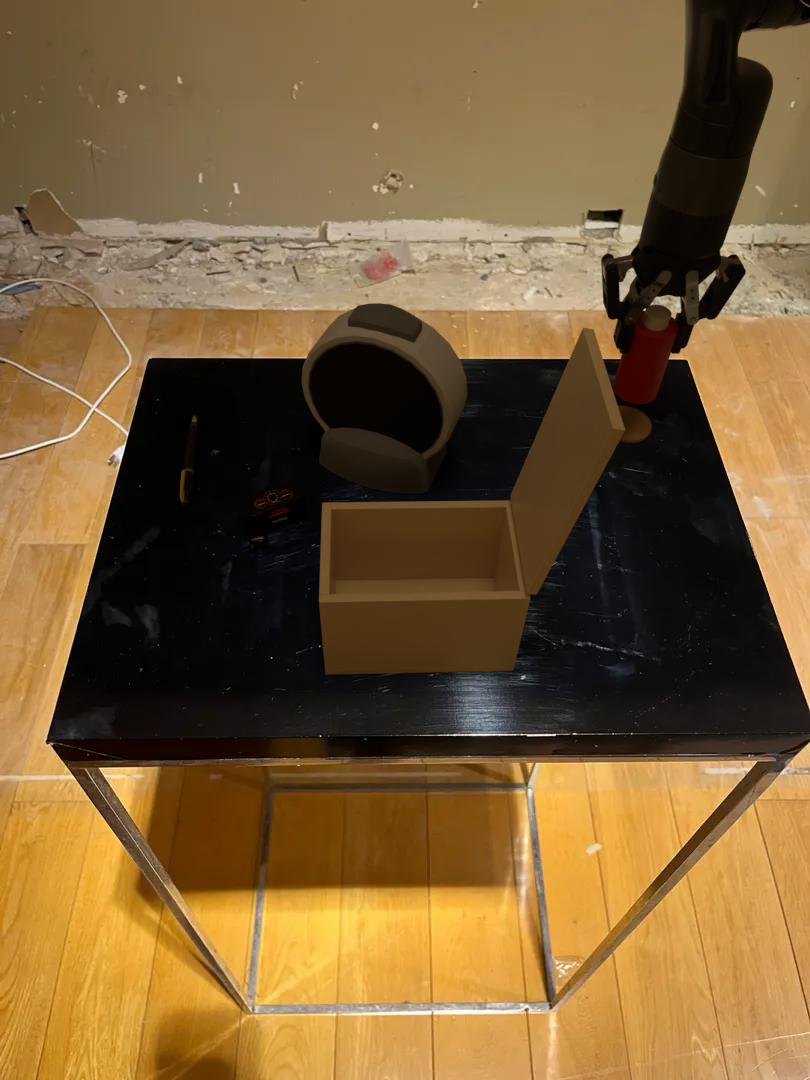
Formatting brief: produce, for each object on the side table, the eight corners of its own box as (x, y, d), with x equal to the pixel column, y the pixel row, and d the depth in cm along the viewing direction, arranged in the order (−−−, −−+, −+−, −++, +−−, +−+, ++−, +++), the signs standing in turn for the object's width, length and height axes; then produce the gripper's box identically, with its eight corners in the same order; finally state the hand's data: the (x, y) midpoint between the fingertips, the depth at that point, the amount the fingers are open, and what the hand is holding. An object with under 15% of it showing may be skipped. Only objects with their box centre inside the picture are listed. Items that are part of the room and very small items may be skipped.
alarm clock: (296, 466, 89) (281, 323, 75) (334, 409, 95) (327, 266, 81) (437, 508, 85) (450, 365, 72) (468, 445, 92) (484, 303, 78)
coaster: (652, 413, 96) (653, 411, 96) (648, 447, 92) (649, 445, 92) (601, 403, 97) (602, 401, 97) (595, 437, 93) (595, 434, 93)
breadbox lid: (613, 428, 51) (626, 429, 52) (582, 327, 58) (593, 328, 58) (526, 594, 64) (536, 595, 65) (509, 495, 71) (519, 496, 71)
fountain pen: (190, 419, 93) (188, 408, 92) (201, 418, 93) (199, 408, 92) (179, 512, 84) (176, 502, 83) (190, 512, 84) (188, 502, 83)
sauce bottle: (658, 380, 92) (684, 302, 84) (655, 407, 89) (681, 329, 81) (615, 372, 93) (636, 294, 85) (610, 399, 90) (632, 320, 82)
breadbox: (325, 674, 72) (318, 602, 64) (327, 579, 79) (322, 502, 71) (513, 670, 73) (530, 598, 65) (499, 576, 80) (513, 499, 72)
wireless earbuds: (233, 523, 83) (229, 501, 81) (298, 499, 86) (296, 477, 83) (250, 555, 81) (246, 533, 78) (317, 529, 83) (315, 507, 81)
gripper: (625, 212, 71) (586, 372, 84) (788, 213, 71) (725, 371, 84) (607, 171, 76) (573, 328, 89) (760, 172, 76) (704, 327, 89)
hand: (648, 348), depth 86 cm, fingers closed on sauce bottle, 4 cm apart
